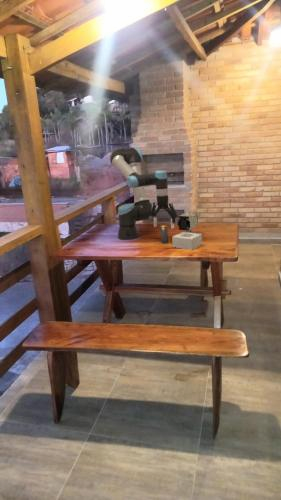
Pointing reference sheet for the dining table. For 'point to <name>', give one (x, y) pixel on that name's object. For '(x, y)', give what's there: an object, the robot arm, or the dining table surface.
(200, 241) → the block
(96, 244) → the dining table surface
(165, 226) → the steel pin
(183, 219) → the ball valve
